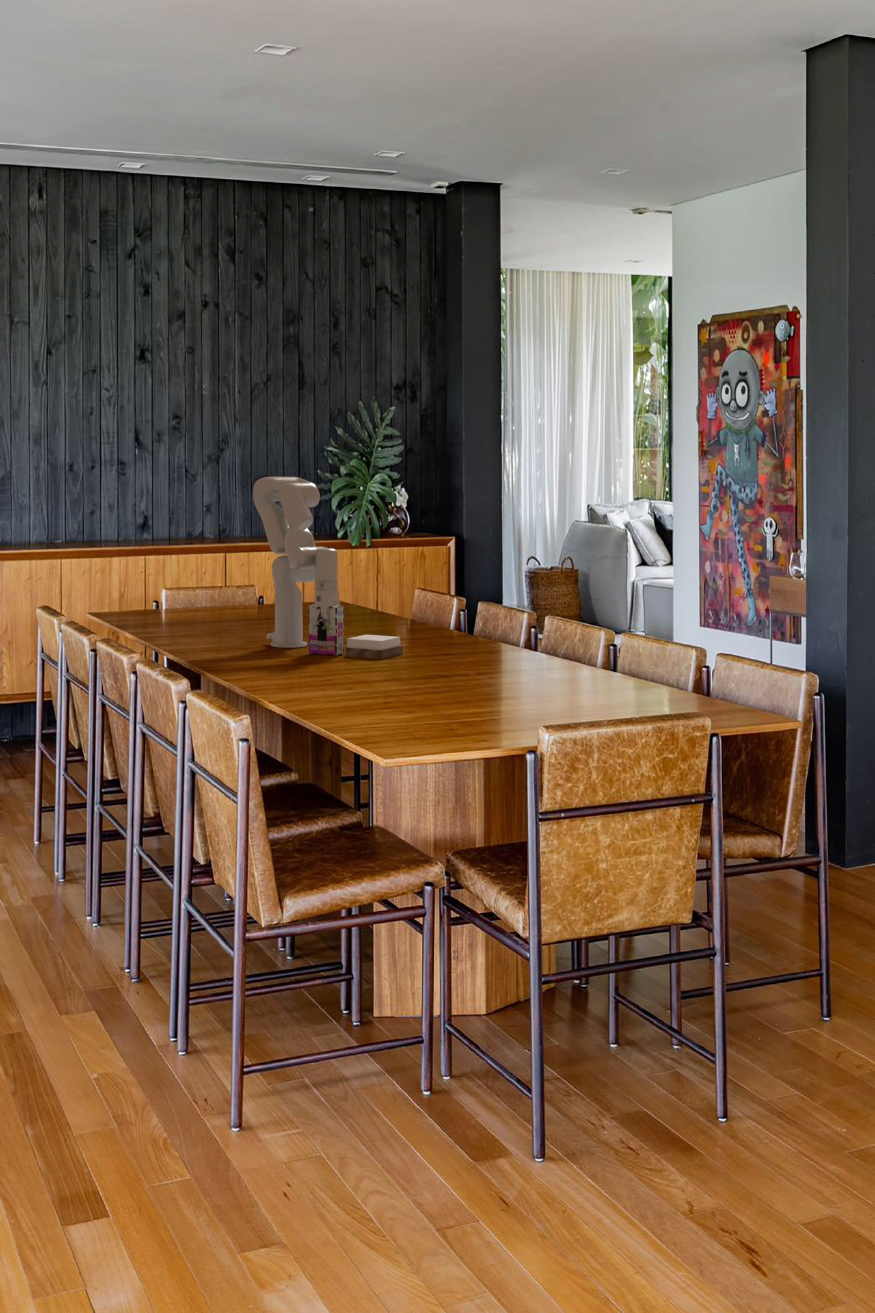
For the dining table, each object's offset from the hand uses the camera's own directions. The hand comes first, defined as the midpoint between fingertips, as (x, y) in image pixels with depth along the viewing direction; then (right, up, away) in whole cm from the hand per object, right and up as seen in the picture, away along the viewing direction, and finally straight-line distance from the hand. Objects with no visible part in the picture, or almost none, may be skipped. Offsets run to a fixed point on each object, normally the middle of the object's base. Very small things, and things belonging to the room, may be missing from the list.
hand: (326, 639), depth 473 cm
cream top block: (+16, -2, -1) cm, 16 cm away
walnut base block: (+16, -6, 0) cm, 17 cm away
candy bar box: (0, -5, +1) cm, 5 cm away
